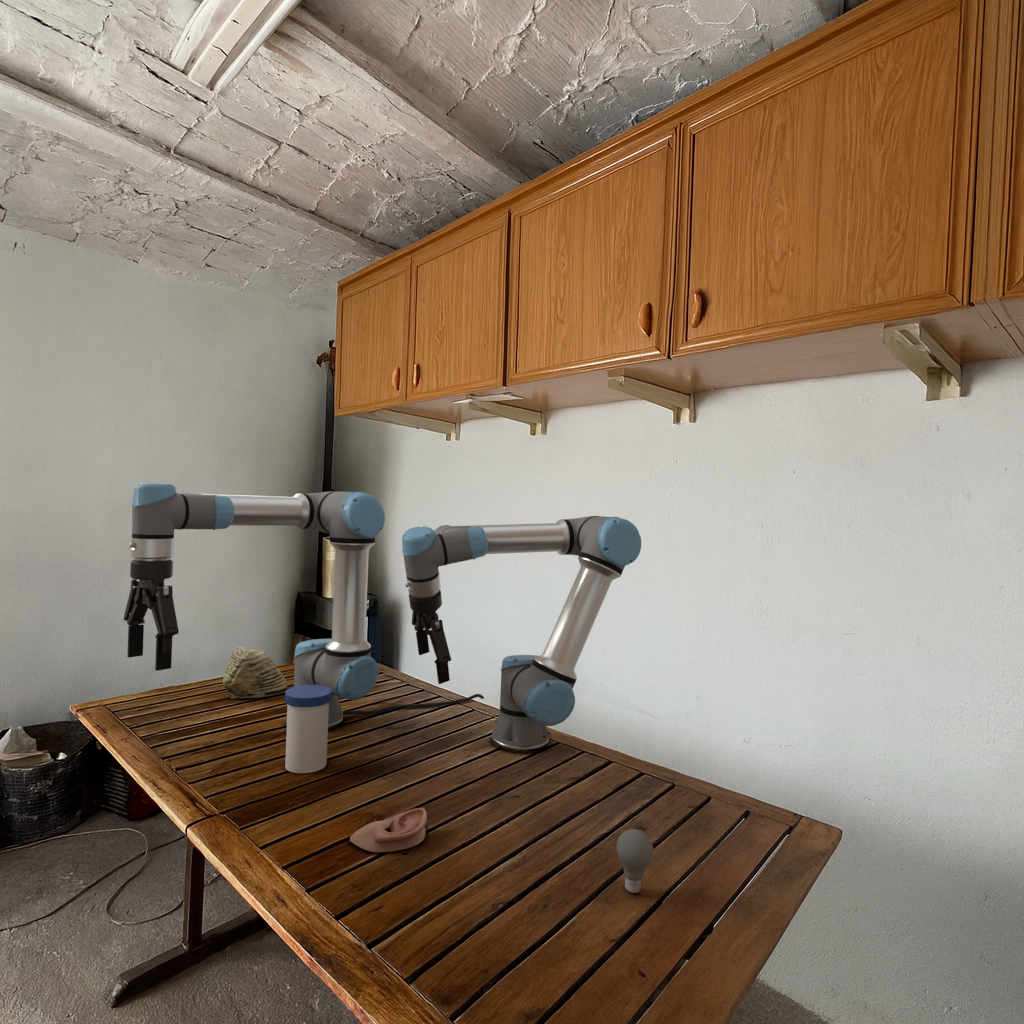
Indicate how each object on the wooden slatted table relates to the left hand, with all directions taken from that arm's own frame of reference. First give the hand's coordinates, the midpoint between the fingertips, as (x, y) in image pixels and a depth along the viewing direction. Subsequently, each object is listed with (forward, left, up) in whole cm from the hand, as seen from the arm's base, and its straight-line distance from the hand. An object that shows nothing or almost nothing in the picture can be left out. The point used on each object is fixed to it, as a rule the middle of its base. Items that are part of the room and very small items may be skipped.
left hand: (148, 662), depth 129 cm
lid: (-32, +9, -11) cm, 35 cm away
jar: (-32, +9, -28) cm, 43 cm away
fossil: (-50, -47, -28) cm, 74 cm away
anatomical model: (-24, +48, -28) cm, 60 cm away
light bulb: (-41, +90, -28) cm, 103 cm away
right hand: (-55, +26, -6) cm, 62 cm away
